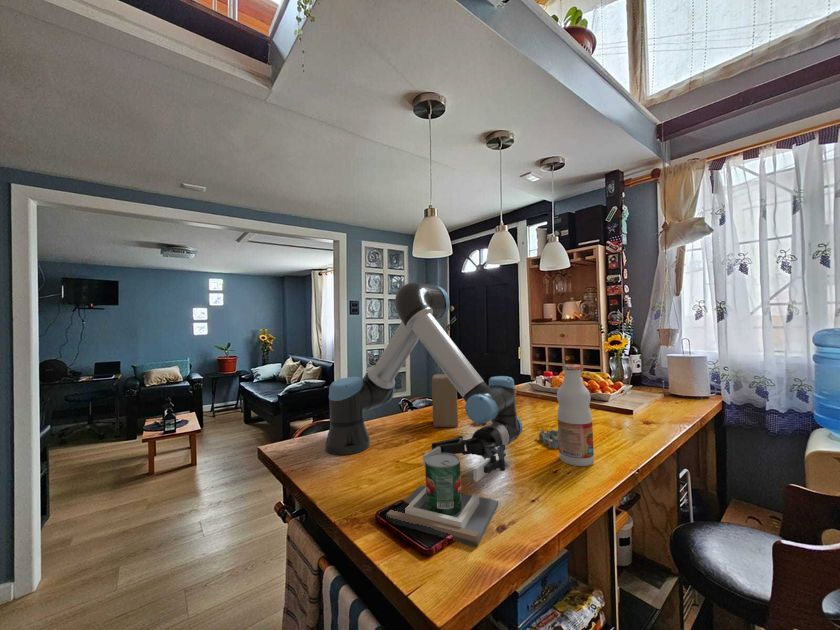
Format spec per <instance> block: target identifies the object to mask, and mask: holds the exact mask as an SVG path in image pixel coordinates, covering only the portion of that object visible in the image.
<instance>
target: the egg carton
mask: <svg viewBox="0 0 840 630" xmlns="http://www.w3.org/2000/svg"><path fill="white" fill-rule="evenodd" d="M537 430H539V434H538V439H539V441H540V440H541V441H540V442H543V444H544V443H545V445H548V444H549V445H548V448H550V449H551V447H552V449H555V448H558V449H559V440H558V429H551V430H548V429H547V430H546V432H544V430H543V429H541V428H539V427H537ZM550 437H551V438H550Z"/></svg>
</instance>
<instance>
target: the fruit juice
mask: <svg viewBox="0 0 840 630" xmlns="http://www.w3.org/2000/svg"><path fill="white" fill-rule="evenodd" d="M562 369H563V372H564V377H563V381H562V384H561V385H560V386H559V388H557V393H556V399H557V401H558V407H557V416H556V417H557V419H556V420H557V430H558V440H559V447H558V454H559V455H558V456H559V459H560V461H562V462H563V463H565V464H567V465H570V466H573V467H588V466H591V465H593V464H594V462H595V461H594V460H595V453H594V451H595V450H594V449H595V448H594V432H593V415H592V413H593V412H592V411H591V408H590V403H591V392H590V390H589V389H588V388H587V387H586V386H585V384H584V382H583V380H582V375H581V372H582V366H581V365H580V364H564V365H563V367H562Z"/></svg>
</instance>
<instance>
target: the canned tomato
mask: <svg viewBox="0 0 840 630" xmlns="http://www.w3.org/2000/svg"><path fill="white" fill-rule="evenodd" d="M424 471H425V486H426V502H427V510H428V511H432V512H436V513H440V514H444V515H448V516H453V517H456V516H458V515H459V514H460V513H461V511H462V499H461V493H462V477H461V472H462V471H461V458H460V457H459V456H458V455H457V454H451V453H435V454H431V455H429V456H427V457H426V458H425V467H424Z"/></svg>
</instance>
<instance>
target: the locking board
mask: <svg viewBox="0 0 840 630" xmlns="http://www.w3.org/2000/svg"><path fill="white" fill-rule="evenodd" d="M461 499H462V511H461V513H460V514H459V515H458V516H456V517H453V516H448V515H444V514H440V513H436V512H432V511H428V510H427V502H426V485H422V484H420V485H419V486H417V488H416V489H414V491H413V492H412V493H411V494H410V495H409V496H407V498H406V499H404V501H405V502H407V503H409V505H408V506H407V507H406V508H405V513H402V512H398V511H394V510H395V509H394V510H393V509H390V510H389V511H387V512H386V517H387V516H388V517H390V518H393V519H398V520H401V521H405V522H409V523H413V524H419V525H423V526H427V527H431V528H433V529H435V530H438V531H441V532H444V533H448V534H451V535H452V536H453V541H452V542H455V543H459V544H464V545H467V546H471V547H474V548H478V547H479V544H480V543H481V540H482V539H483V536H484V534H485V532H486V531H487V528H488V527H489V524H490V522H491V521H492V519H493V517H494V514H495V513H496V511H497V508H498V507H499V500H496V499H491V498H486V497H482V496H480V494H477V493H473V494H471V495H470V494H468V493H467V494H466V493H462V492H461Z"/></svg>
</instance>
